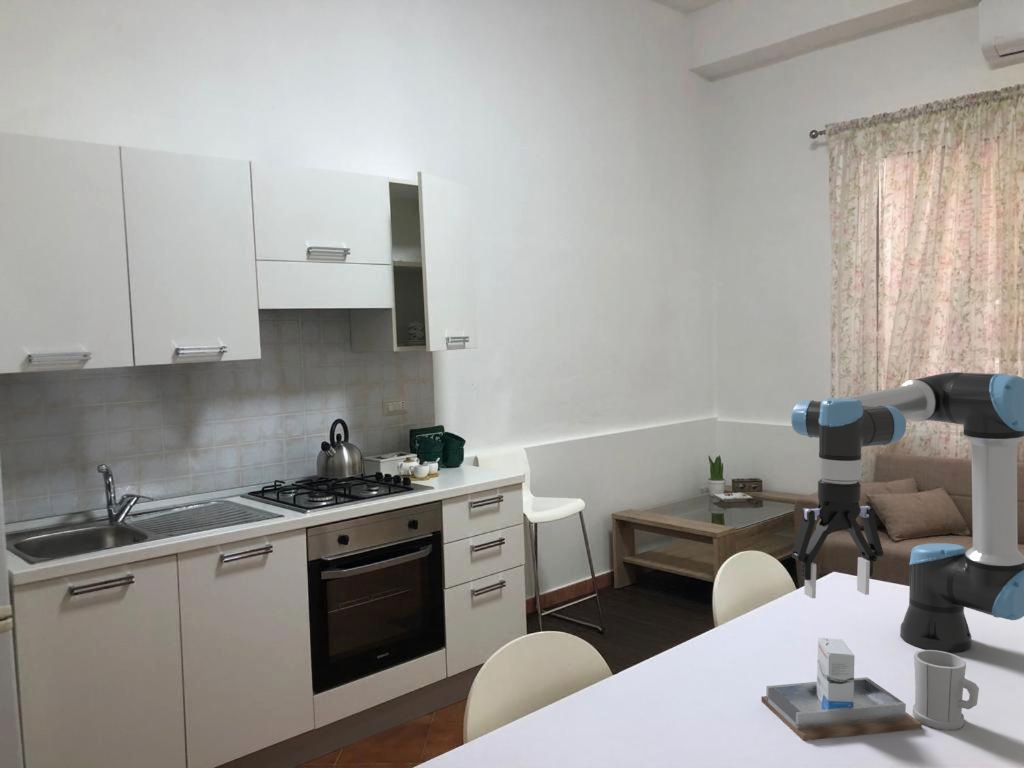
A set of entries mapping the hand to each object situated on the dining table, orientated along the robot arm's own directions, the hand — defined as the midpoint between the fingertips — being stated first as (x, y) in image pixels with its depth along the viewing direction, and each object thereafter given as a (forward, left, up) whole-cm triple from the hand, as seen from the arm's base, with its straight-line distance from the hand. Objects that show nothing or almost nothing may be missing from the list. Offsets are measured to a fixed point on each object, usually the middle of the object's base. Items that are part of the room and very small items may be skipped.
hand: (836, 594), depth 157 cm
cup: (-19, +6, -24) cm, 31 cm away
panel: (-1, 0, -24) cm, 24 cm away
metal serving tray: (0, 0, -24) cm, 24 cm away
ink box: (0, 0, -22) cm, 22 cm away
